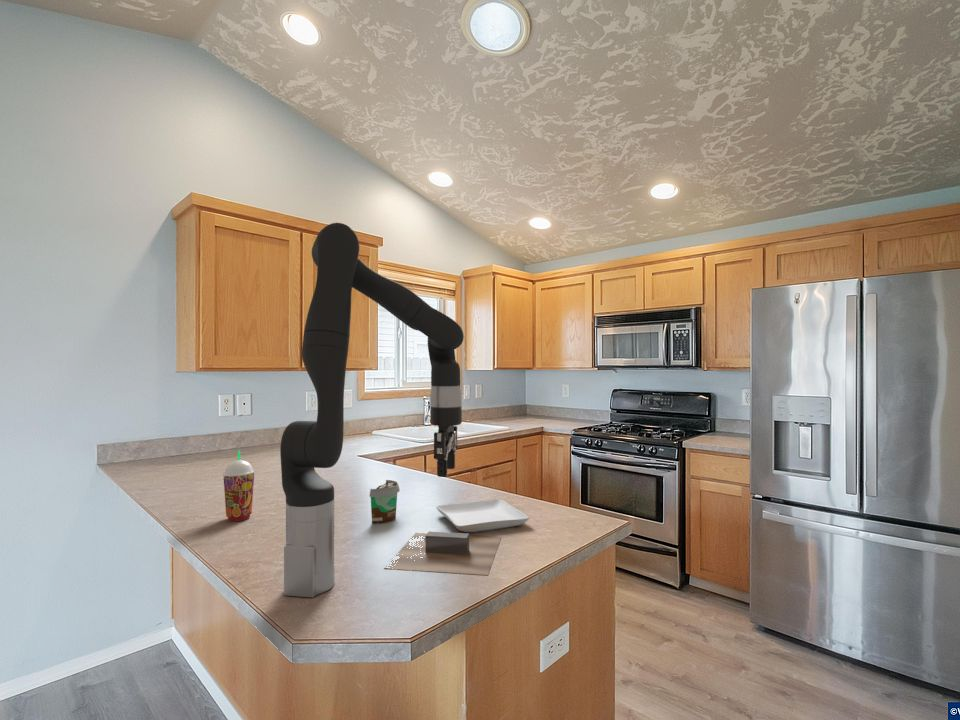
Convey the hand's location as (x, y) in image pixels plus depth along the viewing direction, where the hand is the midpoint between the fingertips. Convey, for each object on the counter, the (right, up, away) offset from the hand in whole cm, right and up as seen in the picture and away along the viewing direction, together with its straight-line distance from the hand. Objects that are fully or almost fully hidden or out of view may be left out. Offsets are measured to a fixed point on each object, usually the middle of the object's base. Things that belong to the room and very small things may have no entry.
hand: (446, 472), depth 115 cm
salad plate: (+8, -20, +22) cm, 31 cm away
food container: (-19, -20, +25) cm, 37 cm away
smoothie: (-63, -20, +27) cm, 71 cm away
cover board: (0, -20, 0) cm, 20 cm away
